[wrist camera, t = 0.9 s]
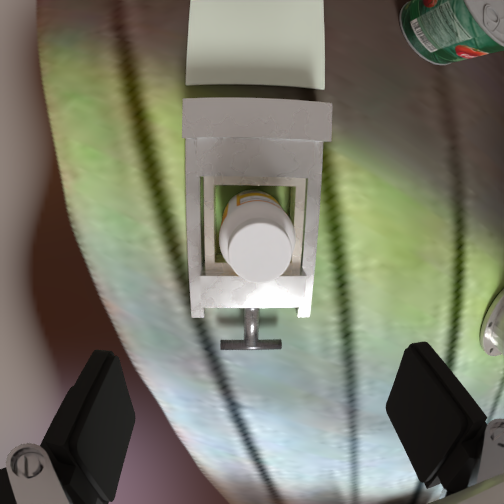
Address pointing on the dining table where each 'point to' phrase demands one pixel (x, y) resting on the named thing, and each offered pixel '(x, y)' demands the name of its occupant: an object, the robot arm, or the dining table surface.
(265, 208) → the supplement bottle
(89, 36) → the dining table surface
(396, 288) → the dining table surface
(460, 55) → the canned tomato
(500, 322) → the robot arm
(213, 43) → the pad
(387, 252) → the dining table surface
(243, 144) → the vise
